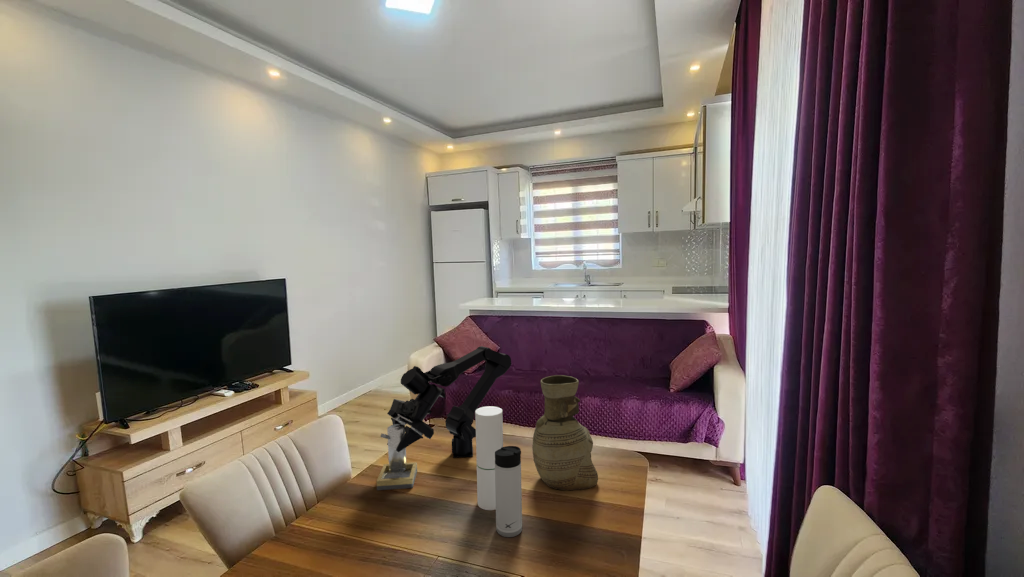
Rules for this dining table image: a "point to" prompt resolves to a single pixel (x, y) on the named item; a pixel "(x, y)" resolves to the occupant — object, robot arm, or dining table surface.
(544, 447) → the ceramic vessel
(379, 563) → the dining table surface
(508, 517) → the travel mug
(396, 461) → the spout can
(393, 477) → the plate
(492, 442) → the cylindrical container
